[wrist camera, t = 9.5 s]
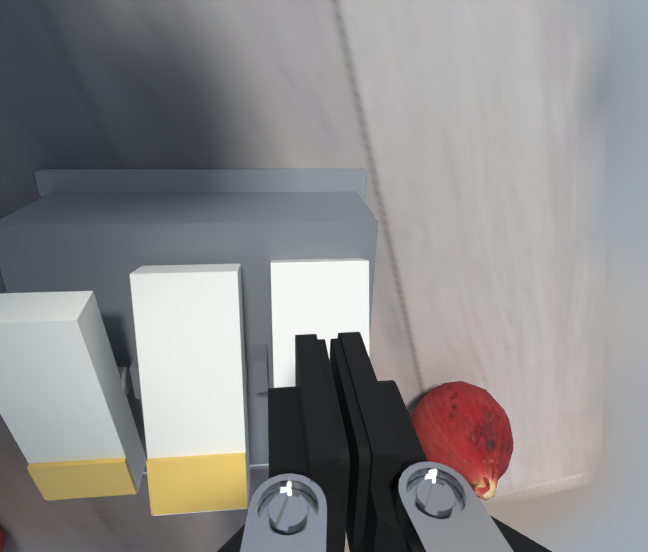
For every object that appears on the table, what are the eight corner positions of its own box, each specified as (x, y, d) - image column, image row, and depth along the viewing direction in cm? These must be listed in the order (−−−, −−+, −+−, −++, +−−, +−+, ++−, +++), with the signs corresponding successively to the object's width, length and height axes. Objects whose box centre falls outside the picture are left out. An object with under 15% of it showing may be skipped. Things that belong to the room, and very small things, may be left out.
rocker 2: (149, 261, 18) (127, 275, 16) (242, 259, 19) (237, 272, 16) (168, 474, 20) (151, 519, 18) (251, 468, 21) (247, 512, 18)
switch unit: (41, 169, 22) (-63, 210, 15) (364, 169, 23) (400, 206, 17) (113, 470, 30) (66, 583, 23) (348, 454, 31) (368, 556, 25)
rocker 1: (-8, 277, 16) (-55, 328, 14) (102, 274, 16) (74, 324, 14) (70, 446, 22) (46, 503, 19) (151, 441, 22) (137, 496, 20)
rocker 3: (271, 258, 19) (270, 263, 17) (356, 256, 20) (369, 260, 17) (277, 475, 20) (277, 513, 18) (358, 469, 21) (370, 506, 18)
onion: (421, 346, 28) (472, 439, 21) (496, 369, 30) (567, 464, 22) (383, 415, 30) (417, 521, 23) (454, 434, 32) (508, 540, 24)
